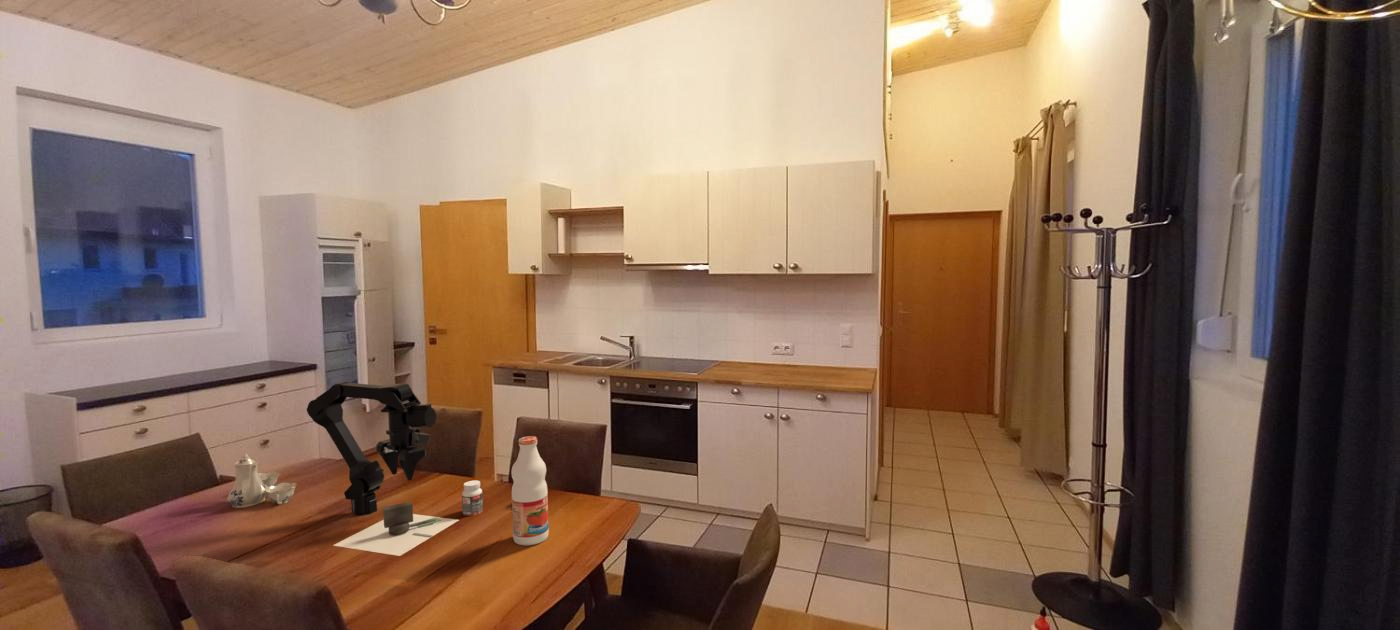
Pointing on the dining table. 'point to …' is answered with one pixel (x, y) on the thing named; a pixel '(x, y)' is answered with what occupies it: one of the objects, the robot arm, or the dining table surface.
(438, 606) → the dining table surface
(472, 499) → the pill bottle
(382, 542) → the dial plate
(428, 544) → the dining table surface
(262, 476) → the chinaware
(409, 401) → the robot arm
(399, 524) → the dark grey angled piece
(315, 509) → the dining table surface
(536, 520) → the fruit juice
